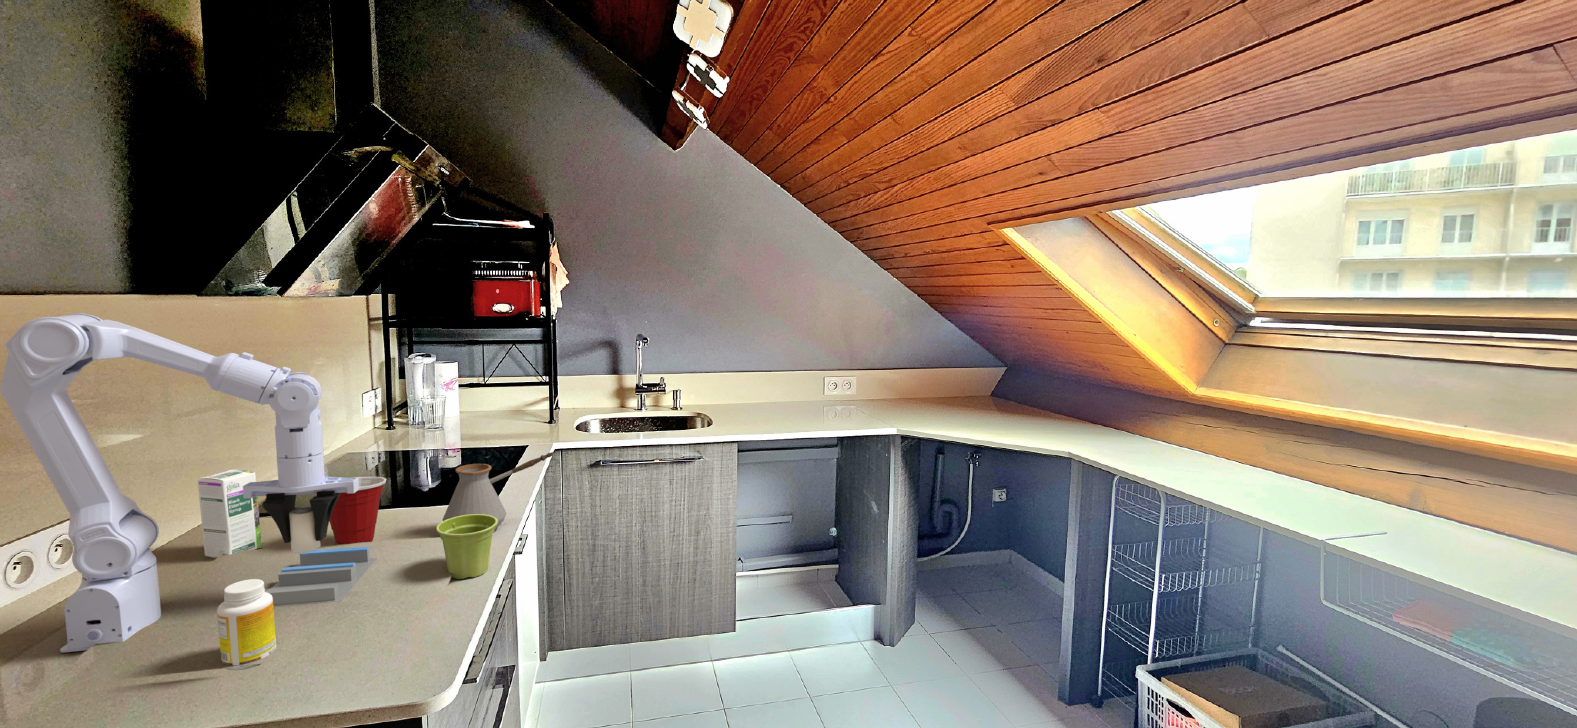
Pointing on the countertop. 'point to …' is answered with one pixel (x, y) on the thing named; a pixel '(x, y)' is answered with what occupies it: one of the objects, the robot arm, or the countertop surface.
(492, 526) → the plant pot
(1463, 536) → the countertop surface
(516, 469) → the coffee pot
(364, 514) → the plastic cup
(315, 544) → the grey-capped cream cylinder
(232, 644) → the supplement bottle
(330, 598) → the grey and blue rack
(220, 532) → the syrup box
